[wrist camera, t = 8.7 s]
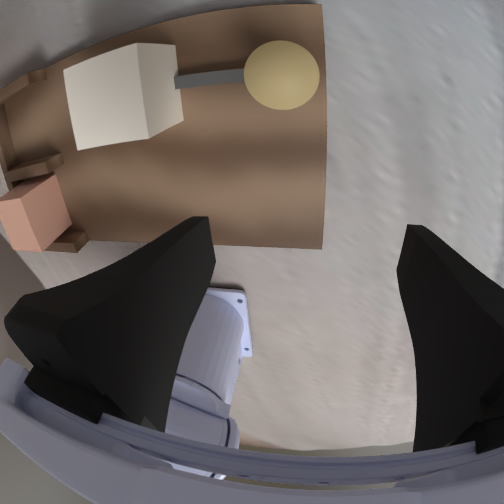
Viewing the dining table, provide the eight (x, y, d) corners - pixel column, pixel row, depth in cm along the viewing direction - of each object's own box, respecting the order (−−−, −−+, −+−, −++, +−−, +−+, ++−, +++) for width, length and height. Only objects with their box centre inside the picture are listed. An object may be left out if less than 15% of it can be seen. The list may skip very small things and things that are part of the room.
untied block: (72, 223, 23) (42, 252, 20) (41, 224, 24) (13, 249, 21) (55, 173, 20) (20, 198, 17) (25, 180, 21) (-7, 202, 18)
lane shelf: (321, 241, 21) (322, 267, 19) (45, 233, 26) (28, 249, 24) (320, 7, 12) (323, -4, 10) (5, 94, 17) (-17, 103, 15)
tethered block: (317, 115, 15) (320, 134, 11) (118, 129, 18) (72, 153, 14) (314, 33, 12) (316, 18, 8) (108, 62, 15) (57, 71, 11)
